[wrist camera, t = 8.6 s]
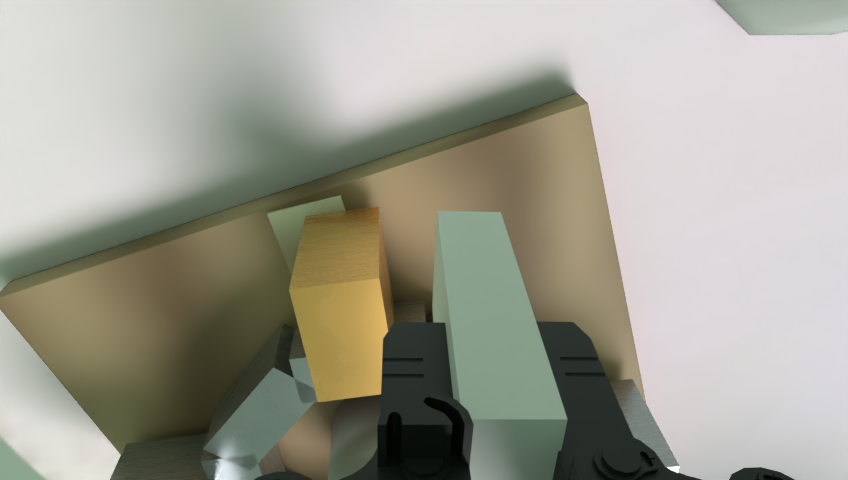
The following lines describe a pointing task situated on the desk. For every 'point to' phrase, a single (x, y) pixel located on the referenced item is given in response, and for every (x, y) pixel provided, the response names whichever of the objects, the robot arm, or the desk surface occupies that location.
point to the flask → (789, 16)
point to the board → (273, 267)
